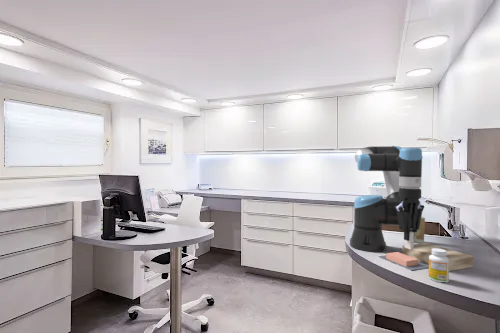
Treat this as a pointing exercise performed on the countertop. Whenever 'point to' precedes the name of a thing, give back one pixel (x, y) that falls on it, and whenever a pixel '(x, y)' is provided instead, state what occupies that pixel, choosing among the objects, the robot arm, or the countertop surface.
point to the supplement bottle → (439, 265)
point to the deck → (455, 257)
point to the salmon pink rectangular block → (402, 259)
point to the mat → (415, 267)
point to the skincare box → (420, 232)
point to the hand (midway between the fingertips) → (408, 248)
